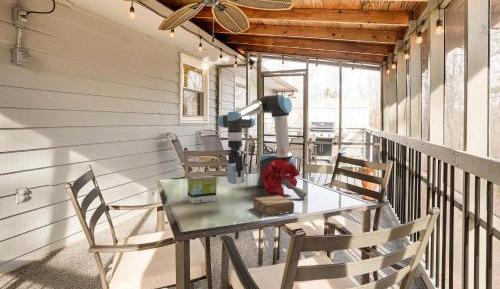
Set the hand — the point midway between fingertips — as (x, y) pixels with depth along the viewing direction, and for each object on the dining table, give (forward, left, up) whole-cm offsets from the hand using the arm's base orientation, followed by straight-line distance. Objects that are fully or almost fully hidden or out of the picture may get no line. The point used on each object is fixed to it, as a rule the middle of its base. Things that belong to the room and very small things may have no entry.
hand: (235, 181), depth 173 cm
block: (0, 0, 0) cm, 0 cm away
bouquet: (-8, +36, -15) cm, 39 cm away
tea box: (-22, -12, -15) cm, 29 cm away
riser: (+14, +16, -15) cm, 26 cm away
